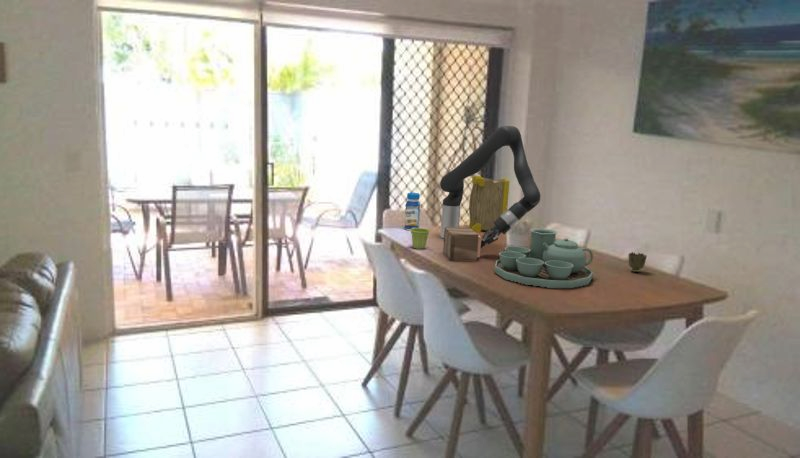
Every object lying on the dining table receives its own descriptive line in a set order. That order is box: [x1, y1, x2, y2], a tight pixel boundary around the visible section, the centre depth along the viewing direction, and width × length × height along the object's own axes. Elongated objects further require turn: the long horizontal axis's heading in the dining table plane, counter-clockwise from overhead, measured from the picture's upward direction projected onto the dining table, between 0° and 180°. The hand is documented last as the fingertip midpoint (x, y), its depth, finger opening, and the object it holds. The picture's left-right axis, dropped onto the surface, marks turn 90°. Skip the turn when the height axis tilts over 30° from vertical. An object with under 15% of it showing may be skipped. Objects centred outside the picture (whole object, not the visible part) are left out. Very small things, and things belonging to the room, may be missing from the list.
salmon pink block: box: [477, 235, 482, 258], centre depth 281 cm, size 12×10×9 cm
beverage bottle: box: [403, 192, 421, 231], centre depth 338 cm, size 8×8×20 cm
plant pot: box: [409, 227, 431, 250], centre depth 296 cm, size 9×9×9 cm
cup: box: [628, 251, 648, 273], centre depth 268 cm, size 8×7×8 cm
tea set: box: [494, 227, 594, 289], centre depth 255 cm, size 40×40×16 cm
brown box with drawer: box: [442, 226, 480, 262], centre depth 281 cm, size 16×12×12 cm
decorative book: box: [468, 175, 510, 233], centre depth 344 cm, size 20×11×30 cm, turn 93°
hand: (478, 247), depth 282 cm, fingers closed
